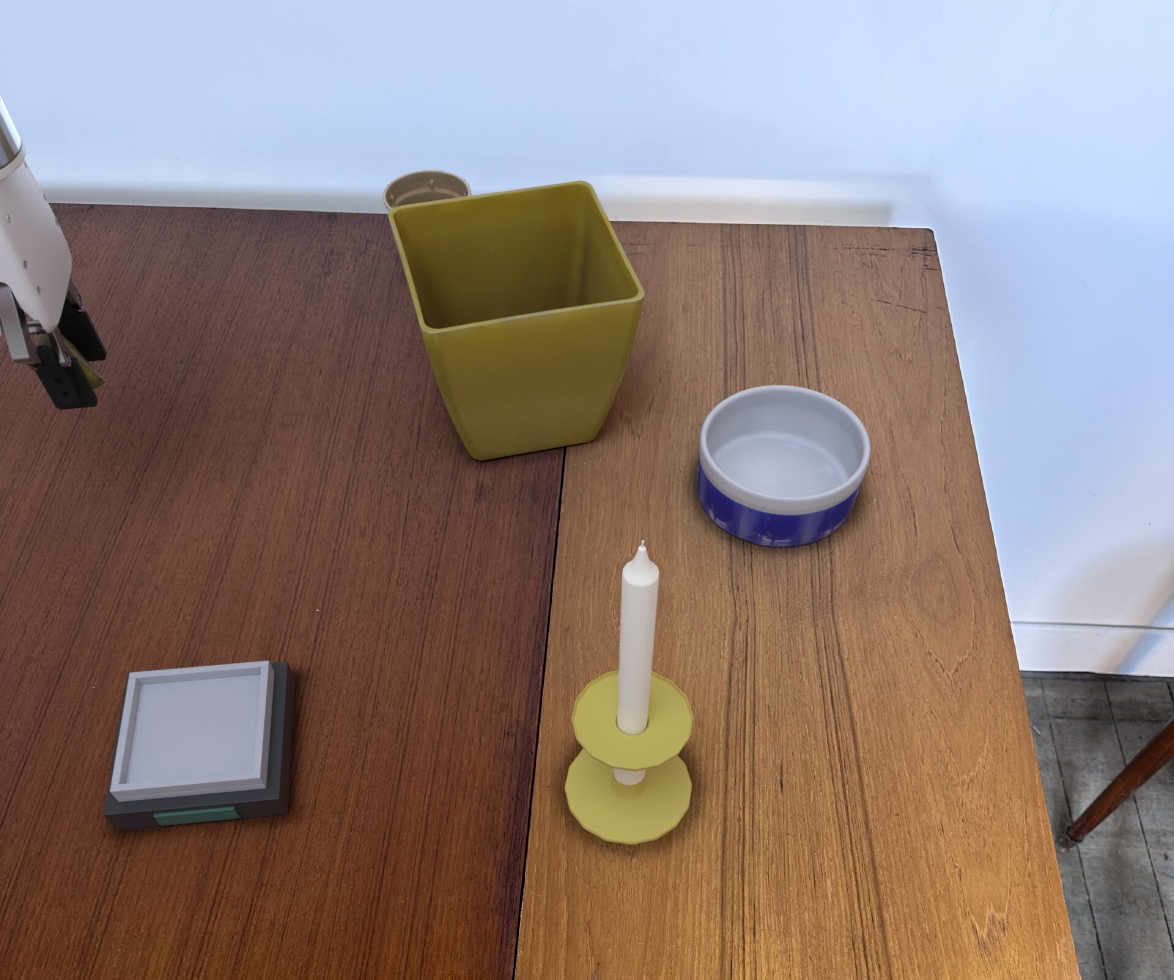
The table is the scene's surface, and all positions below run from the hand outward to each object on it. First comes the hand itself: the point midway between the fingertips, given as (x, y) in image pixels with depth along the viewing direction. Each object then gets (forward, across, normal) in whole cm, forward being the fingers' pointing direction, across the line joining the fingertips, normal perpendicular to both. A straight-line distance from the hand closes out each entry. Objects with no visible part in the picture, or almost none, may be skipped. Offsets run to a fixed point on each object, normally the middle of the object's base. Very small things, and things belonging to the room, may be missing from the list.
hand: (82, 380), depth 78 cm
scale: (+15, +27, +7) cm, 31 cm away
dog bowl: (+16, +4, +58) cm, 60 cm away
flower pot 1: (+16, -36, +28) cm, 48 cm away
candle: (+16, +34, +40) cm, 55 cm away
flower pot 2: (+16, -11, +36) cm, 40 cm away
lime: (+1, 0, 0) cm, 1 cm away
